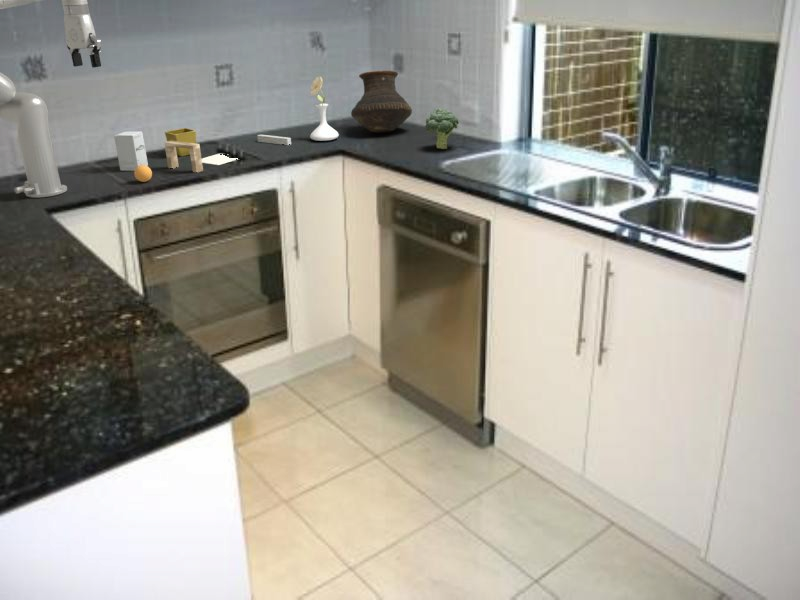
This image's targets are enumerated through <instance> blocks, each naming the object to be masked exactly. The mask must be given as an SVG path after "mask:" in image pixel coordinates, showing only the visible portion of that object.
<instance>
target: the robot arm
mask: <svg viewBox="0 0 800 600" xmlns="http://www.w3.org/2000/svg"><path fill="white" fill-rule="evenodd" d="M42 1H44V0H0V10H4V9H9V8H13V7H19V6H24V5H28V4H32V3H35V2H42ZM61 2H62V8H63V13H64V17H63V25H64V31H65V32H64V33H65V39H64V43H65V44H66V48H67V49H68V50H69V51H68V52H69V54H71V55H70V56H71V60H72V66H73V67H80V66H83V64H84V63H83V60H82V59H83V58H82V54H81V52H80V50H82V49H84V50H85V49H87V51H89V53H90V54H89V59H90V64H91V68H94V69H95V68H100V67H102V61H101V57H100V53H101V48H102V47H101V44H102V43H101V39H100V38H98V36H96V35H97V34H96V32H95V27H94V24H93V23H94V22H93V20H92V17H91V14H90V8H89V5H88V4H89V2H88V0H61ZM0 119H1V120H4V121H6V122H9V123H12V124H13V123H15V124H17V133H16V134H17V141H18V142H17V143H18V146H19V150H20V154H21V159H22V163H23V168H24V171H25V175H26V179H27V180H26V181H24V184H22V185H21V186H17V187H14V189H13V190H14V192H15V194H20V193H21V194H22V193H24V194H25V196H26V197H28V198H32V199H33V198H35V199H38V198H39V199H40V198H48V197H54V196H58V195H61V194H63V193H65V192H67V191H68V186H67V185H65V184H61V178H60V175H59V169H58V165H57V159H56V156H55V152H54V148H53V147H54V146H53V143H52V138H51V134H50V133H51V132H50V125H49V111H48V106H47V104H46V102H45V101H44V99H43V98H41V97H40V96H38V95H37V94H35V93H29V92H19V91H18V92H17V89H16V86H15V83H14V82H13V81H12V80H11V79H10V78H9V76H6V74H4V73H2V71H0Z"/></svg>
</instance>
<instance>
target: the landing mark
mask: <svg viewBox="0 0 800 600" xmlns="http://www.w3.org/2000/svg"><path fill="white" fill-rule="evenodd" d="M220 154H222V155H220ZM223 154H224V153H216V154H213V155H209V156H206V157H203V158H202V157H201V159H202V164H208V165H215V166H220V165H223V164H226V163H230V162H234V161H237V160H239V159H238V158H229V157H227V156H225V155H223ZM236 159H237V160H236Z"/></svg>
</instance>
